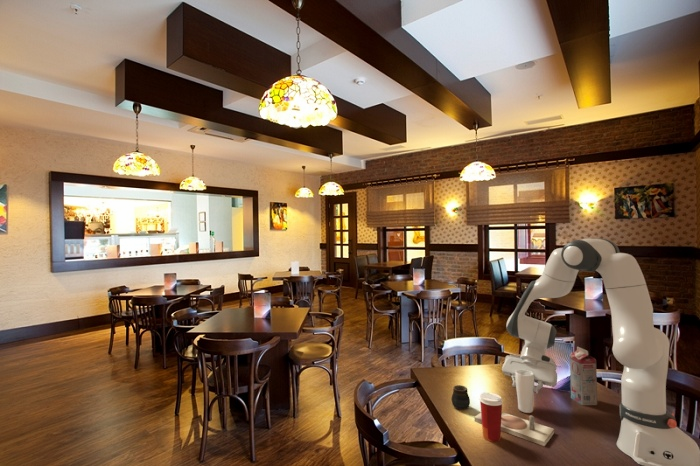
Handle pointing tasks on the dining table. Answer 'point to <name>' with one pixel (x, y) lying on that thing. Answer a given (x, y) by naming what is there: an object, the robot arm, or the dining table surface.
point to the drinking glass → (525, 391)
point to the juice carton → (583, 377)
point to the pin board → (523, 428)
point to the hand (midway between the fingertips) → (524, 389)
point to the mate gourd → (460, 397)
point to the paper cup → (491, 416)
